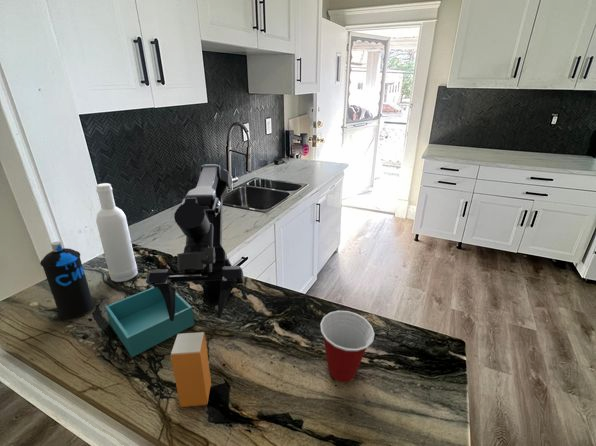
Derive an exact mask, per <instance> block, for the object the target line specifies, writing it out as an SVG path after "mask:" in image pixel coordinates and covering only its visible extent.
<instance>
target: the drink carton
mask: <svg viewBox="0 0 596 446" xmlns="http://www.w3.org/2000/svg"><path fill="white" fill-rule="evenodd" d="M173 343H174V344H173V346H172V350H171V352H170V360H171V365H172V370H173V376H174V380H175V386H176V391H177V396H178V403H179V407H180V408H186V407H187V408H188V407H196V406H197V407H198V406H207V405H208V403H209V397H210V391H211V386H212V378H211V370H210V362H209V356H208V347H207V340H206V333H205V331H199V332H198V331H197V332H186V333H185V332H183V333H178V334H176V338H175V340H174V342H173Z"/></svg>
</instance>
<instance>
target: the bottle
mask: <svg viewBox="0 0 596 446" xmlns="http://www.w3.org/2000/svg"><path fill="white" fill-rule="evenodd" d="M95 187H96V193H97V196H98V200H99V204H100V210H99V211H98V212H97V213H96V218H95V219H96V222H95V223H96V227H97V231H98V234H99V238H100V243H101V246H102V250H103V254H104V258H105V262H106V266H107V270H108V275H109V277H110V280H111V282H112V281H113V282H116V283H122V282H127V281H129V280H131V279H134V278H135V277H136V276H137V275H138V273H139V271H138V265H137V262H136V257H135V252H134V248H133V243H132V239H131V234H130V229H129V224H128V220H127V216H126V214H125V213H124V211H123V210H122V209H121V208H119V207H118V206H116V202H115V198H114V194H113V193H114V192H113V187H112V184H111V183H108V182H103V183H98V184H96V186H95Z"/></svg>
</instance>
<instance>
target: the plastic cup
mask: <svg viewBox="0 0 596 446" xmlns="http://www.w3.org/2000/svg"><path fill="white" fill-rule="evenodd" d="M319 325H320V333H321V335H322V337H323V343H324V349H325V356H326V357H325V358H326V363H327V368H328V373H329V375H330V376H331V378H332V379H334V380H335V381H338V382H340V383H348V382H350V381H353V379H354V378H355V377H356V374H357V373H358V369H359V367H360V366H361V363H362V361H363V357H364V355H365V352H366V351H367V349H368V348H369V346H370V345H372V343H373V342H374V338H375V331H374V328H373V326H372V324H371V323H370V322H369V321H368V320H367V319H366V318H365V317H364V316H362V315H360V314H358V313H356V312H353V311H349V310H334V311H330V312H328V313H327V314H326V315H324V316H323V317H322V319H321V322H320V324H319Z"/></svg>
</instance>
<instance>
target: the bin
mask: <svg viewBox="0 0 596 446" xmlns="http://www.w3.org/2000/svg"><path fill="white" fill-rule="evenodd" d="M104 309H105V311H106V315H107V319H108V322H109V325H110V327H111V328H112V330H113V331H114V332H115V334H116V335H117V337H118V338H119V340H120V342H121V343H122V345H123V346H124V348H125V350H126V351H127V352H128V354H129V355H130V357H131V358H134V357H137V356H138V355H139V354H140V355H141V354H142V353H144V352H145V351H147V350H149V349H151V348H154V347H155V346H157V345H160V344H161V343H163V342H165V341H166V340H168V339H170V338H172V337H174V336H177V334H181V333H182V332H183V331H186V330H188V329H189V328H191V327H194V326H195V318H194V310H193V306H191V304H189V303H188V301H186V300H185V299H184V298H183V297H182V296H181V295H180V294H178V293H177V292H176V296H175V316H174V321H170V318H169V314H168V310H167V307H166V303H165V300H164V297H163V295H162V293H161V291H159V290H158V289H156V288H154V287H153V286H152V287H150V288H148V289H145V290H142V291H140V292H137V293H135V294H133V295H130V296H127V297H125V298H123V299H120V300H118V301H115V302H113V303H110V304H108V305H105V306H104Z"/></svg>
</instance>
